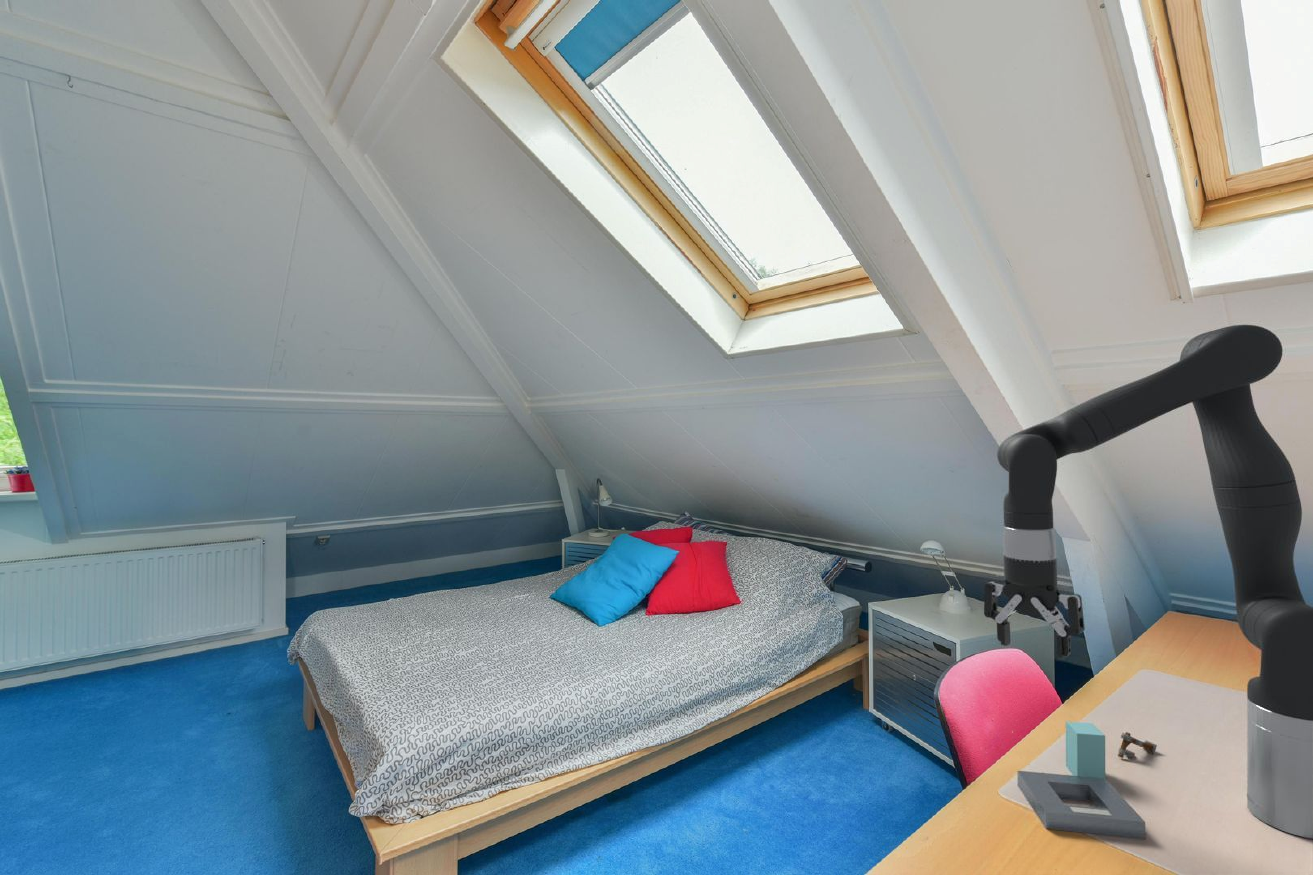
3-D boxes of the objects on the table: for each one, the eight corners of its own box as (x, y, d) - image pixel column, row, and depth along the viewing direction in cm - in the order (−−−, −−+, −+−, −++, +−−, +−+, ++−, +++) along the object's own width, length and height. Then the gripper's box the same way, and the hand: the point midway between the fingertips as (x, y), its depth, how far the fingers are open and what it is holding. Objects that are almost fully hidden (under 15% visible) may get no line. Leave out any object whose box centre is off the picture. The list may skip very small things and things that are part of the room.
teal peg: (1092, 768, 105) (1092, 723, 105) (1105, 782, 101) (1105, 735, 101) (1065, 766, 106) (1065, 721, 106) (1077, 779, 102) (1077, 733, 102)
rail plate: (1105, 793, 98) (1105, 777, 98) (1145, 838, 87) (1145, 821, 87) (1017, 785, 101) (1017, 769, 101) (1045, 828, 90) (1045, 811, 90)
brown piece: (1111, 752, 109) (1118, 728, 109) (1139, 763, 111) (1146, 739, 111) (1121, 758, 107) (1128, 733, 107) (1150, 768, 109) (1157, 743, 110)
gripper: (1087, 556, 97) (1091, 656, 97) (994, 545, 108) (997, 635, 108) (1070, 563, 92) (1074, 669, 93) (974, 551, 104) (978, 645, 104)
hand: (1033, 650), depth 100 cm, fingers open, 8 cm apart
